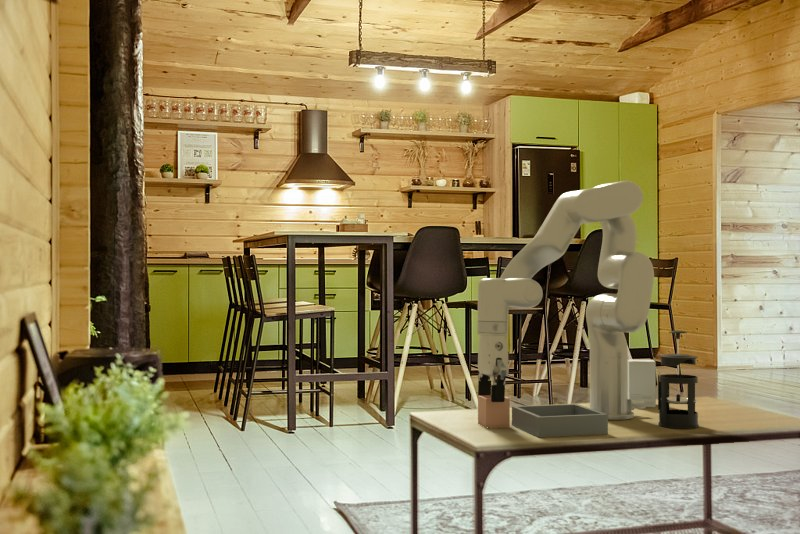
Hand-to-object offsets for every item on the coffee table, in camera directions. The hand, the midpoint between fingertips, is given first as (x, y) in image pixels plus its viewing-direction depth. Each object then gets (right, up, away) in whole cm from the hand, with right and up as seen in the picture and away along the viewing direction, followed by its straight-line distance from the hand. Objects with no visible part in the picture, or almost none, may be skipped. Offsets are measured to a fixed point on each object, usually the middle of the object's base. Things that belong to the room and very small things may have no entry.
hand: (491, 399), depth 215 cm
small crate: (+1, -7, 0) cm, 7 cm away
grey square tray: (+15, -6, -6) cm, 18 cm away
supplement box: (+45, -7, +32) cm, 56 cm away
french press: (+45, -7, -1) cm, 46 cm away
